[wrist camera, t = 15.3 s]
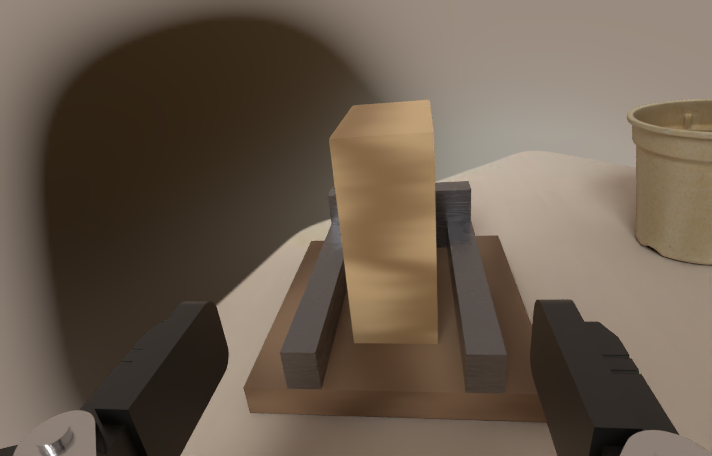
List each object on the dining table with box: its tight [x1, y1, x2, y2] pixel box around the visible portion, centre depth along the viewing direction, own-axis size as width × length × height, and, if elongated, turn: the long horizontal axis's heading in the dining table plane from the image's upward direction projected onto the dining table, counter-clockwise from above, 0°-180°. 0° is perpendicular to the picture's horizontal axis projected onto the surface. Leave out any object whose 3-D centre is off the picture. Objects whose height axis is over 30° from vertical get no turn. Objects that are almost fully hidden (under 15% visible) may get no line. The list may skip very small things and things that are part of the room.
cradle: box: [244, 181, 547, 422], centre depth 24 cm, size 13×14×6 cm
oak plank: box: [329, 100, 438, 344], centre depth 22 cm, size 4×7×10 cm, turn 173°
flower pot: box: [627, 99, 712, 265], centre depth 28 cm, size 9×9×9 cm
